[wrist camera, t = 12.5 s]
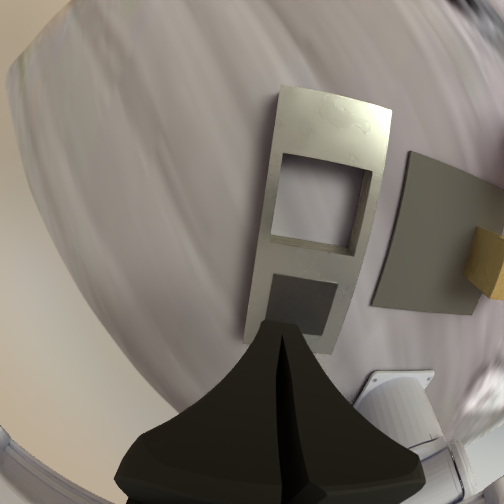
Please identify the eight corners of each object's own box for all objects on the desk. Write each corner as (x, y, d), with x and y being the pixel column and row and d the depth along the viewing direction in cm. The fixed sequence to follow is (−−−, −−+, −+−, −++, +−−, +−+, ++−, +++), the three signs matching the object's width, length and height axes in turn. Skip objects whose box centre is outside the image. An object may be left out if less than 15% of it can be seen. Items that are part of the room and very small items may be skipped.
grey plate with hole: (328, 340, 21) (331, 355, 19) (245, 329, 22) (242, 343, 20) (381, 114, 15) (392, 110, 13) (280, 91, 15) (280, 84, 13)
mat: (470, 313, 19) (471, 315, 19) (370, 304, 20) (371, 305, 19) (508, 194, 15) (510, 194, 15) (409, 150, 15) (411, 150, 15)
